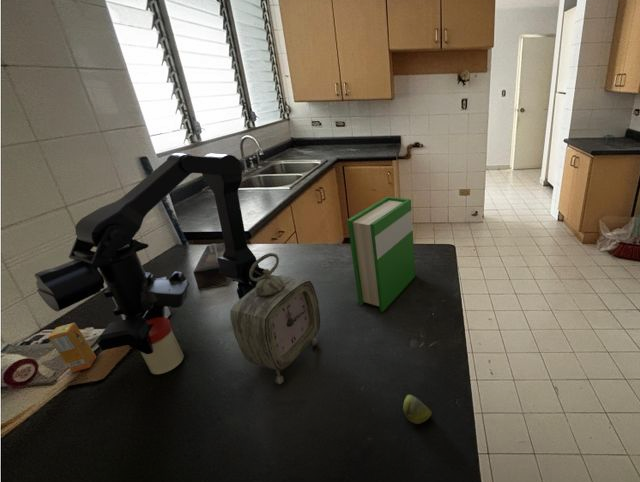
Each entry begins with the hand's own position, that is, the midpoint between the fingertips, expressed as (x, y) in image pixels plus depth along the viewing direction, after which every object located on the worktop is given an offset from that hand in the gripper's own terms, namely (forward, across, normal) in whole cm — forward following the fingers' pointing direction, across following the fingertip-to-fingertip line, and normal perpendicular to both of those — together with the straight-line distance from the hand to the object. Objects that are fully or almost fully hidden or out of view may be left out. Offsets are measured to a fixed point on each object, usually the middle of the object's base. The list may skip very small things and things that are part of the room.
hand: (156, 342), depth 69 cm
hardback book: (+6, +9, -51) cm, 52 cm away
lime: (+6, -30, -47) cm, 56 cm away
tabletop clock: (+6, -8, -25) cm, 27 cm away
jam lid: (-3, 0, 0) cm, 3 cm away
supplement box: (+6, +6, +17) cm, 19 cm away
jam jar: (+6, 0, 0) cm, 6 cm away
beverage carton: (+6, +38, -3) cm, 38 cm away
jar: (+6, +18, +9) cm, 21 cm away
